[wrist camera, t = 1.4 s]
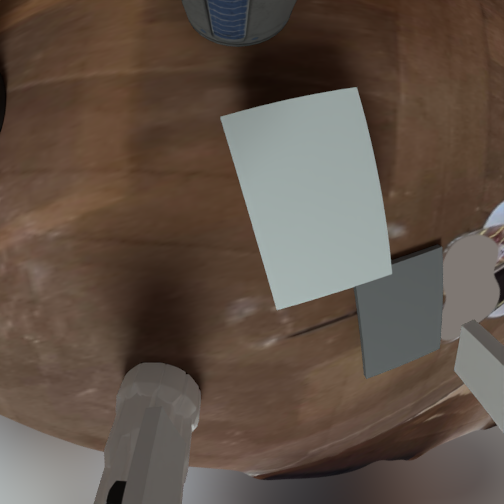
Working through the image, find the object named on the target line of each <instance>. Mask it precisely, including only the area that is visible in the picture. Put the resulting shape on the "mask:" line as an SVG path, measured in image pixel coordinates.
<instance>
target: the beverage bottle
mask: <svg viewBox="0 0 504 504" xmlns="http://www.w3.org/2000/svg"><path fill="white" fill-rule="evenodd" d="M296 1H297V0H182V3H183V6H184V8H185V11H186V14H187V16H188V19H189V22H190V23H191V25H192V26H193V28H194V29H195V30H196V31H197V32H198V33H199V34H200V35H202V36H203V37H205V38H206V39H208V40H210V41H213V42H215V43H217V44H222V45H226V46H237V47H240V46H250V45H254V44H259V43H261V42H264V41H266V40H268V39H270V38H272V37H273V36H275V35H276V34H278V33H279V32H280V31H281V30H282V29H283V28H284V26H285V25H286V23H287V22H288V20H289V18H290V15H291V12H292V9H293V7H294V5H295V3H296Z"/></svg>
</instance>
